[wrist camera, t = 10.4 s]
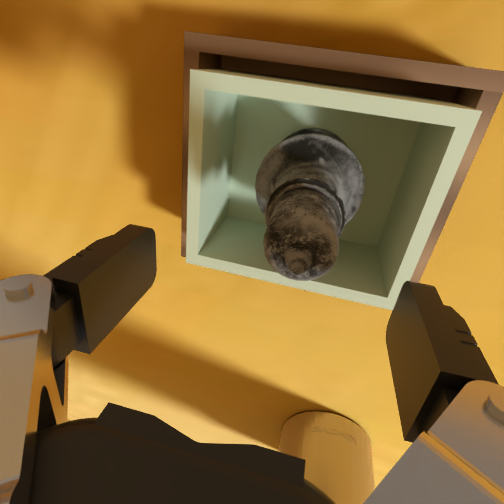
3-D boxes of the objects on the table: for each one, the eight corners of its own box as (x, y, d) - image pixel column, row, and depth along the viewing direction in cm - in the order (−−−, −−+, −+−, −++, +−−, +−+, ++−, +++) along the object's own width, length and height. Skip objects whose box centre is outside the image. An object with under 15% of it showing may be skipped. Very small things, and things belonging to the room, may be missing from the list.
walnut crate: (397, 271, 25) (407, 308, 21) (204, 229, 27) (181, 256, 23) (476, 71, 18) (512, 72, 14) (213, 38, 20) (184, 30, 17)
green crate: (383, 254, 23) (396, 311, 18) (220, 220, 25) (185, 262, 20) (440, 98, 19) (482, 111, 13) (231, 69, 20) (189, 68, 15)
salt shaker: (304, 230, 23) (288, 363, 13) (246, 167, 22) (176, 260, 12) (379, 175, 21) (432, 288, 10) (317, 99, 19) (308, 142, 9)
